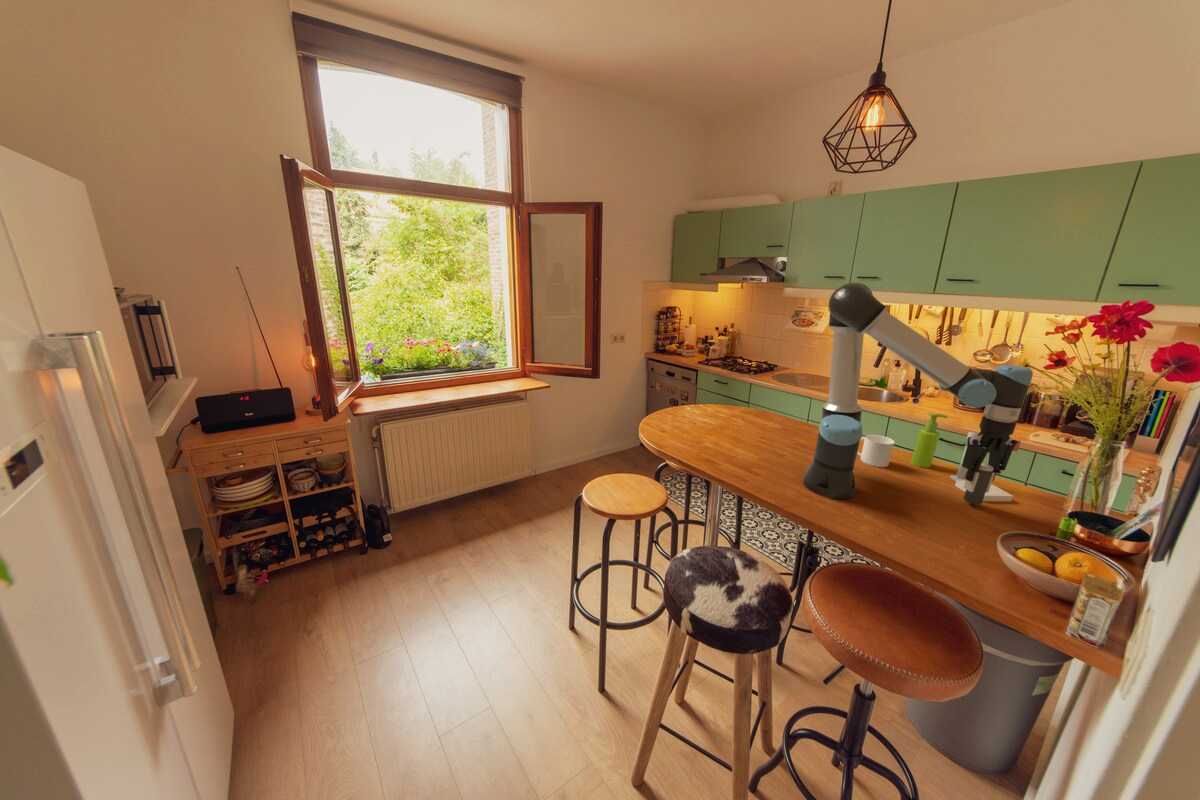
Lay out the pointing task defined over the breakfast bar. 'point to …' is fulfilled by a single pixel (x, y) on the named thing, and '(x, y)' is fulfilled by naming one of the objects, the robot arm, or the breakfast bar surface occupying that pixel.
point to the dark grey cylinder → (980, 485)
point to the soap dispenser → (926, 443)
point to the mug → (876, 450)
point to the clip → (972, 434)
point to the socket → (992, 495)
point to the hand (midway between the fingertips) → (975, 489)
